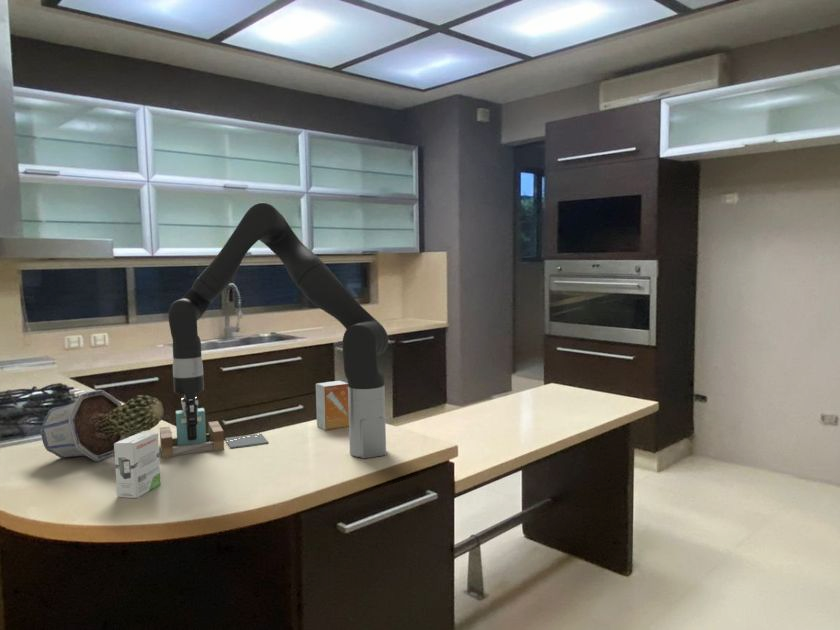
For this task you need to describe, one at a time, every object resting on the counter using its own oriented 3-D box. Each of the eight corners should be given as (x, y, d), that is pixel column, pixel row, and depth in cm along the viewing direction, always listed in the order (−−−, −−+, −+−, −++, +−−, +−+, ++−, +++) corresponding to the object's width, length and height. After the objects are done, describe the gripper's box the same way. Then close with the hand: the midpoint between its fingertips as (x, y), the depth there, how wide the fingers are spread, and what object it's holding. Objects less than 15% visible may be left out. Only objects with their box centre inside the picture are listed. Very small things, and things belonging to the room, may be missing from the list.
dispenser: (224, 449, 162) (223, 430, 162) (162, 457, 156) (161, 438, 155) (218, 438, 173) (217, 420, 172) (160, 445, 167) (159, 427, 166)
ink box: (142, 483, 137) (139, 431, 136) (162, 484, 136) (159, 432, 135) (116, 497, 129) (112, 442, 128) (137, 498, 128) (133, 443, 127)
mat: (268, 443, 167) (268, 441, 167) (230, 448, 163) (230, 447, 163) (261, 434, 176) (261, 433, 176) (225, 439, 172) (224, 438, 172)
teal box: (206, 447, 164) (204, 410, 163) (178, 451, 161) (176, 414, 160) (205, 444, 168) (203, 407, 167) (177, 447, 165) (175, 410, 164)
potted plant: (22, 408, 151) (126, 380, 144) (77, 396, 168) (172, 371, 162) (38, 477, 150) (143, 453, 144) (92, 458, 168) (188, 436, 162)
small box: (325, 430, 179) (324, 386, 178) (316, 426, 184) (315, 383, 183) (350, 426, 183) (349, 383, 182) (340, 422, 189) (339, 380, 188)
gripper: (206, 376, 158) (209, 442, 159) (200, 369, 171) (203, 429, 172) (174, 379, 155) (178, 446, 156) (171, 371, 168) (174, 433, 169)
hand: (191, 437), depth 164 cm, fingers closed on teal box, 4 cm apart
